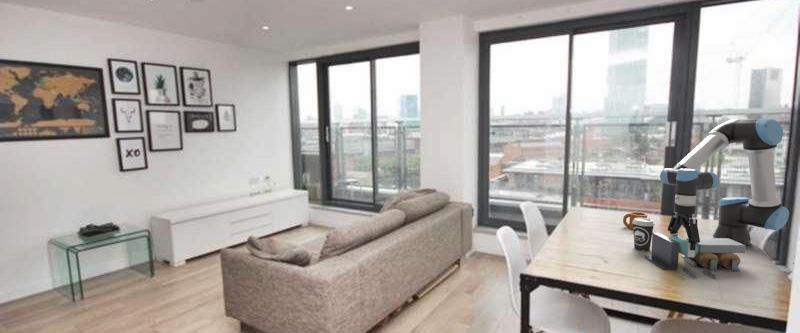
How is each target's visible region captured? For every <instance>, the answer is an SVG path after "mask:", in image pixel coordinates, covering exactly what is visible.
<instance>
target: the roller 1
mask: <svg viewBox="0 0 800 333" xmlns="http://www.w3.org/2000/svg"><path fill="white" fill-rule="evenodd" d="M668 237H669V238H671V239H673V240H675V241H677V242H679V254H681V255H682V256H686V257H687V247H688V240H686V238H683V237H681V236H679V235H678V236H677V235H672V236H671V235H670V236H668ZM697 253H698V247H697V245H696V247H695V255H696V254H697Z"/></svg>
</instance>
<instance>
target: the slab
mask: <svg viewBox="0 0 800 333" xmlns="http://www.w3.org/2000/svg"><path fill="white" fill-rule="evenodd" d="M699 238H700V243H696V245H697V247H698V252H700V253H733V254H746V246H747V245H744V244H741V243H739V242H736V241H734V240H731V239H729V238H713V237H699ZM685 239H686V240H688V241H689V239H688V237H686V238H685Z"/></svg>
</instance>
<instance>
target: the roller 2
mask: <svg viewBox="0 0 800 333" xmlns="http://www.w3.org/2000/svg"><path fill="white" fill-rule="evenodd" d="M688 258H690V259H692V260H694V261H696V262H697V265H698V264H699V266H702V267H705V268H707V269H709V259H717V266H718V265H719V264H718V263H719V259H718V257H717V256H716V255H715V254H713V253H700V252H698V253H697V254H696V255H695V257H688Z"/></svg>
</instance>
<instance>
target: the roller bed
mask: <svg viewBox="0 0 800 333" xmlns="http://www.w3.org/2000/svg"><path fill="white" fill-rule="evenodd" d="M681 258H683V259H684V262H685V263H687V264H690V265H691V266H692V267H698V266H697V265H698V263H697V262H696V261H694V260H692V259H690V258H688V257H686V256H685V255H681ZM738 263H739V260H738V259H730V269H728V268H718V267H717V266H718V265H717V259H709V269H708V268H705V267H704V266H702V270H701V271H702V273H703V274H705V275H707V276H709V277H710V278H712V279H717V273H716V272H741V269H739V265H738ZM682 272H683V273H685V274H686V275H687V276H689V277H691V278H692V279H697V273H696V272H695V271H692V270H691V269H689V268H687V267H685V266H683V267H682Z"/></svg>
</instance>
